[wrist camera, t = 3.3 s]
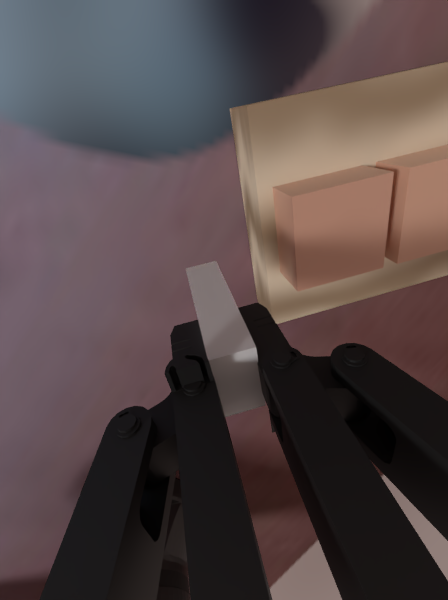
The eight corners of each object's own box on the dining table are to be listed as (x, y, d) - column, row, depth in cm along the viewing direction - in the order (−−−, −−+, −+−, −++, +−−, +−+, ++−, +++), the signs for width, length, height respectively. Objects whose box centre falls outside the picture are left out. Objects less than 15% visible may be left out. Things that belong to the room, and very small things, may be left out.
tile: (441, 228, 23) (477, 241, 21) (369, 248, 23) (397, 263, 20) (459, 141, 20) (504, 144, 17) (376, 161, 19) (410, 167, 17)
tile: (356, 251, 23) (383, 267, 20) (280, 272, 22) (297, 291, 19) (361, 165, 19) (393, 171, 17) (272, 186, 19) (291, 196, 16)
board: (416, 256, 29) (452, 273, 26) (257, 300, 28) (272, 325, 24) (450, 60, 21) (507, 49, 18) (229, 108, 20) (247, 105, 16)
